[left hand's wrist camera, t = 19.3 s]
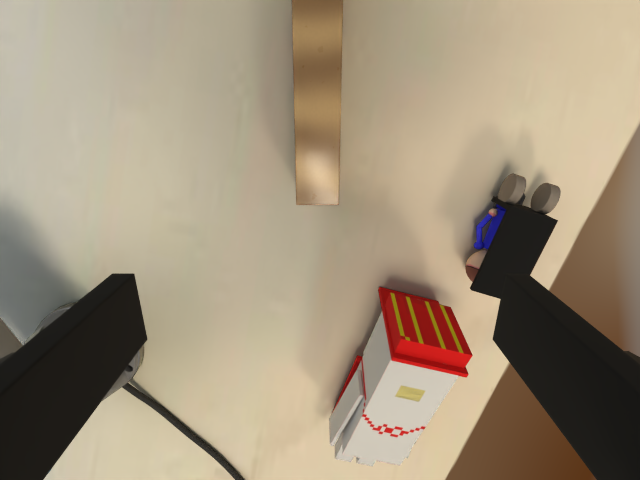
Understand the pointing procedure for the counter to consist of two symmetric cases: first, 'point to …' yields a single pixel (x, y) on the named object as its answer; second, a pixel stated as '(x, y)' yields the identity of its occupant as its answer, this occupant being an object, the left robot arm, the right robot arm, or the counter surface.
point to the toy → (398, 380)
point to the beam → (317, 99)
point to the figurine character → (512, 235)
